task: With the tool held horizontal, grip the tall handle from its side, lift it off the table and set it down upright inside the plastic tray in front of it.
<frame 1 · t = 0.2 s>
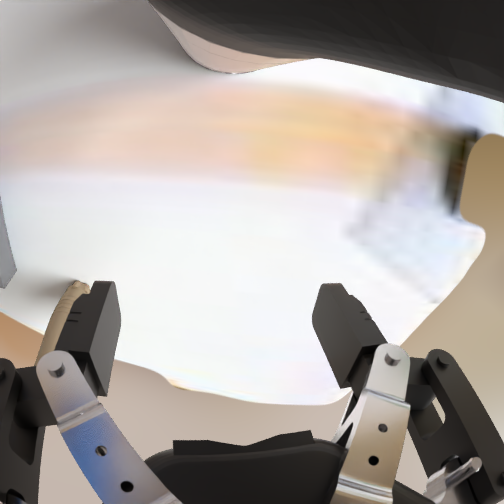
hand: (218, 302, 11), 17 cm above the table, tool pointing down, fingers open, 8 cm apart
handle: (82, 289, 31), on the table
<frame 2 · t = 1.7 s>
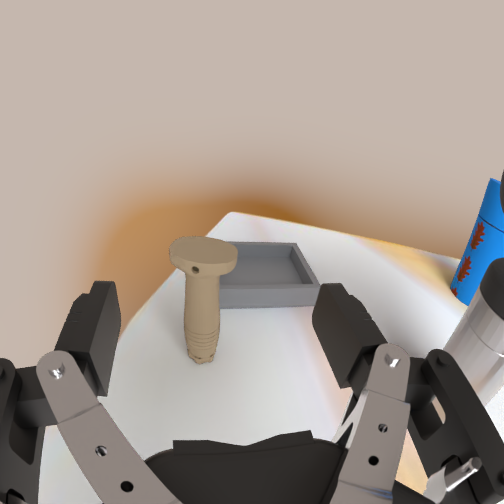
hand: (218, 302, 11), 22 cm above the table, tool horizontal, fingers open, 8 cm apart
thermos: (469, 295, 53), on the table
tray: (258, 280, 51), on the table
handle: (201, 356, 36), on the table
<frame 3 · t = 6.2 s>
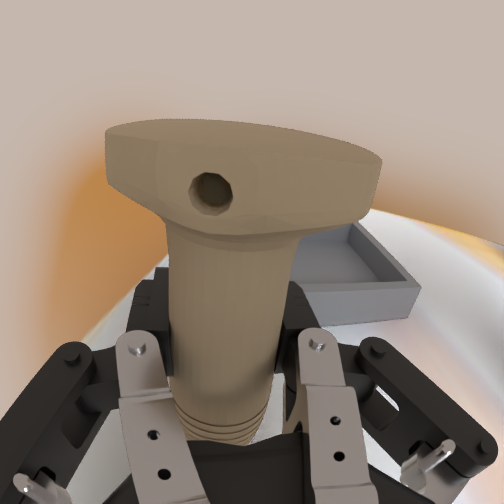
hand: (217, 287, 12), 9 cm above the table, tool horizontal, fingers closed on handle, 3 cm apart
tray: (307, 277, 30), on the table
handle: (216, 443, 14), on the table, touching gripper
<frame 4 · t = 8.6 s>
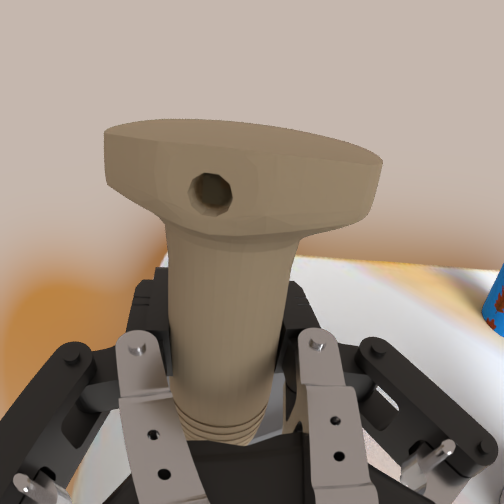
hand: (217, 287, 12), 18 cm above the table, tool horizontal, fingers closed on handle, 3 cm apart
thermos: (501, 322, 39), on the table
tray: (252, 393, 27), on the table
handle: (216, 444, 14), point 9 cm above the table, touching gripper
when the fingers open (11 cm above the table, at t = 11.3 s): handle drops 1 cm, resting on tray.
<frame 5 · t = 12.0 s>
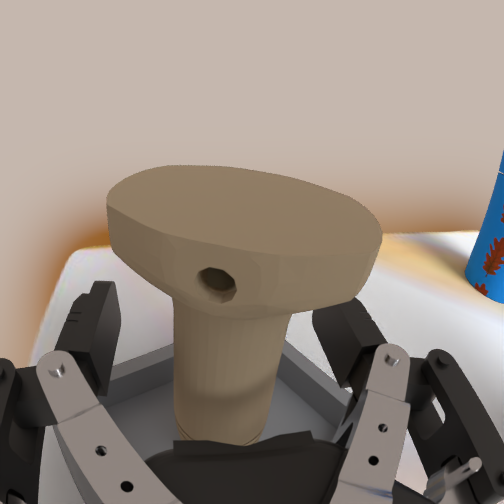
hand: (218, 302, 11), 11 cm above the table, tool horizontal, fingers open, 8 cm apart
thermos: (489, 285, 37), on the table
tray: (215, 457, 15), on the table
handle: (216, 454, 15), point 1 cm above the table, touching tray
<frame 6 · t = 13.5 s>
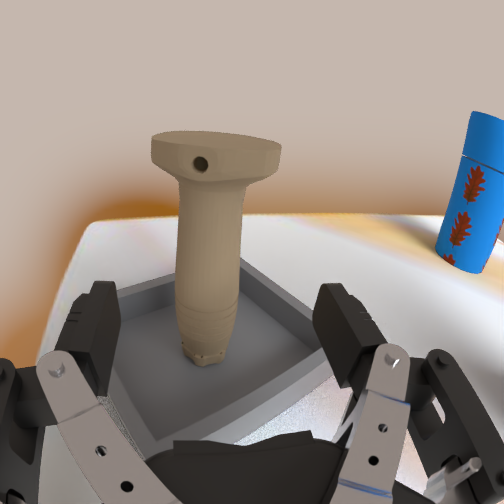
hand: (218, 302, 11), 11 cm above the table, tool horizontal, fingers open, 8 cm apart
thermos: (459, 258, 45), on the table
tray: (204, 359, 22), on the table
handle: (205, 354, 22), point 1 cm above the table, touching tray
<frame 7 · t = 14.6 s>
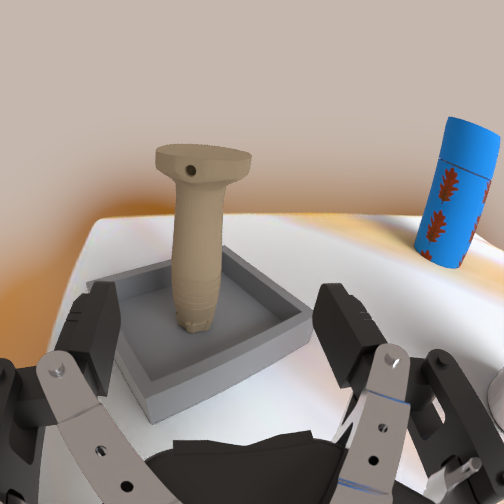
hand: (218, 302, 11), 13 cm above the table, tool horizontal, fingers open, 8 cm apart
thermos: (437, 255, 50), on the table
tray: (194, 329, 27), on the table
handle: (195, 324, 27), point 1 cm above the table, touching tray
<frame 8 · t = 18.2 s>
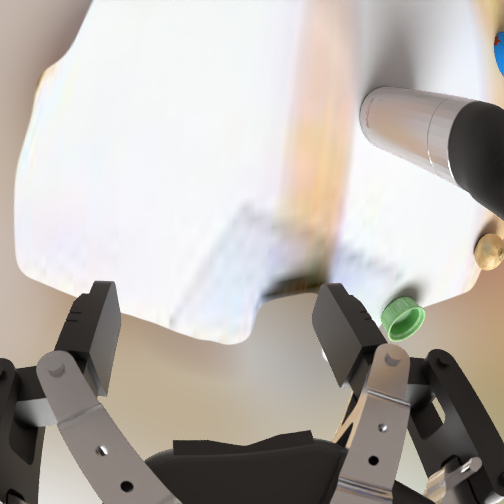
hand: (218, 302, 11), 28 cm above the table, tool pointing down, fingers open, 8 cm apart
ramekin: (396, 310, 56), on the table
onion: (480, 244, 52), on the table
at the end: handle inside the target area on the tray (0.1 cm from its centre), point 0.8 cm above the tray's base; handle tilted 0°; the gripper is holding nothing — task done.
